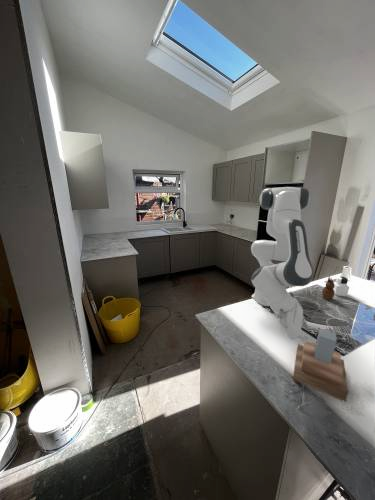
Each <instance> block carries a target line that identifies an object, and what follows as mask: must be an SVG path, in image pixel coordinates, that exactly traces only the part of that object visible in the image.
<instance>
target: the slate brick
mask: <svg viewBox="0 0 375 500" xmlns="http://www.w3.org/2000/svg"><path fill="white" fill-rule="evenodd" d="M315 341H316V342H315V349H314V358H315V359H318V360H320V361H323V362H326V363H328V364H331V360H332V356H333V353H334V351H335V349H336V345H337V333H336V332H335V331H334V332H333V331H331V330H327V329H323V328H320V327H319V330H318V333H317V338H316V340H315Z"/></svg>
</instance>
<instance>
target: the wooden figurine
mask: <svg viewBox="0 0 375 500" xmlns="http://www.w3.org/2000/svg"><path fill="white" fill-rule="evenodd" d="M332 278H333V277H330V276H328V278H327V282H326V283H325V286H324V287H323V289H321V290H322V291H321V292H322V293H321V294H322V297H323V298H324V299H325V300H327V301H328V300H331V301H332V299H333V298H334V297H335V295H334V294H335V292H334V290H333V288H334V282H335V281H334V280H333V279H332Z"/></svg>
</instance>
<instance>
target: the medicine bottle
mask: <svg viewBox="0 0 375 500" xmlns="http://www.w3.org/2000/svg"><path fill="white" fill-rule="evenodd" d="M335 279H336V280H335V281H333V282H334V288H333V290H334V292H335V294H334V296H337V297H347V296H348V294H349V290H350V286H348V285H347V284H348V281H349V279H348V278H347V277H345V276H342V275H341V276H336V278H335Z"/></svg>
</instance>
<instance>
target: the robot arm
mask: <svg viewBox="0 0 375 500" xmlns="http://www.w3.org/2000/svg"><path fill="white" fill-rule="evenodd" d="M310 196H311V195H310V190H309V189H308V188H305V187H301V186H299V187H295V186H283V187H280V186H279V187H272V188H271V187H267V188H265V189H263V190H262V191H261V193H260V195H259V205H260V207H261V208H262V209H263V210H266V211H267V210H268V213H267V220H266V233H267V235H269V236H270V237H272V238H273V239H275V241H274V240H267V239H259V240H255V241H253V242H252V244H251V246H250V251H251V255H252V256H254V257H255V258H256V260H257V261H258V263H259V265H260V266H259V267H258V268H257V269H255V270H254V272H253V273H252V274H251V278H250V280H251V283H252V285H253V287H255V289H254V293H252V295H251V298H252V299H253V300H254V301H255V302H256V303H257V304H259V305H260V306H261V305H262V306H265V307H269V306H270V307H269V308H270V309H271V310H272V311H273V312H274V313H275V315H277V316H278V322H279V325H280V327H281V328H282V330H283V331H284V333H285V334H286V336H287V337H288V338H289V339H290V340H295V339H298V340H300V341H301V342H302V344H304V343H307V342H308V338H307V337H306V335H303V334H302V332H301V331H302V328H303V329H309V324H308V322H307V321H306V319H305V317H304V314H303V313H304V308H303V306H302V305H301V304H300V302H299V301H298V300H297V298H296V297H295V294H294V293H293V292H292V291H289V292H288V291H287V288H288V287H305V286H307V285H309V284H310V283H311V282H312V281H313V279H314V275H315V272H314V271H315V270H314V267H313V264H312V261H311V258H310V254H309V246H308V239H307V231H306V228H305V224H304V222H303V221H302V215H301V214H302V212H301V211H302V210H304V209H305V208H306V207H307V206H308V204H309V203H310V198H311V197H310ZM272 260H274V261H279V262H280V263H276V264H275V263H273V262H272Z"/></svg>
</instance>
